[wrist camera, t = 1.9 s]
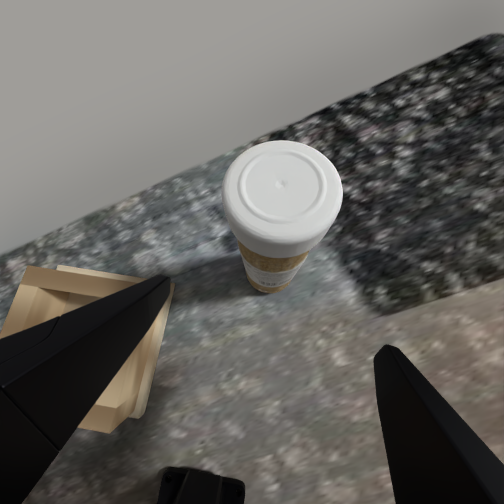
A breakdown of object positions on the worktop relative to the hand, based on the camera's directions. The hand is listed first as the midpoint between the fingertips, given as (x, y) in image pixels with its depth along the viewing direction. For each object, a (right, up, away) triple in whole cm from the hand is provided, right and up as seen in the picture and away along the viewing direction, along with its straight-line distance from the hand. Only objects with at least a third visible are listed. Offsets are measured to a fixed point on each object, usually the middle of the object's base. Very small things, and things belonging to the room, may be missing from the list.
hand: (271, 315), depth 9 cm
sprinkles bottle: (+1, +1, +12) cm, 12 cm away
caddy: (-15, -5, +11) cm, 19 cm away
